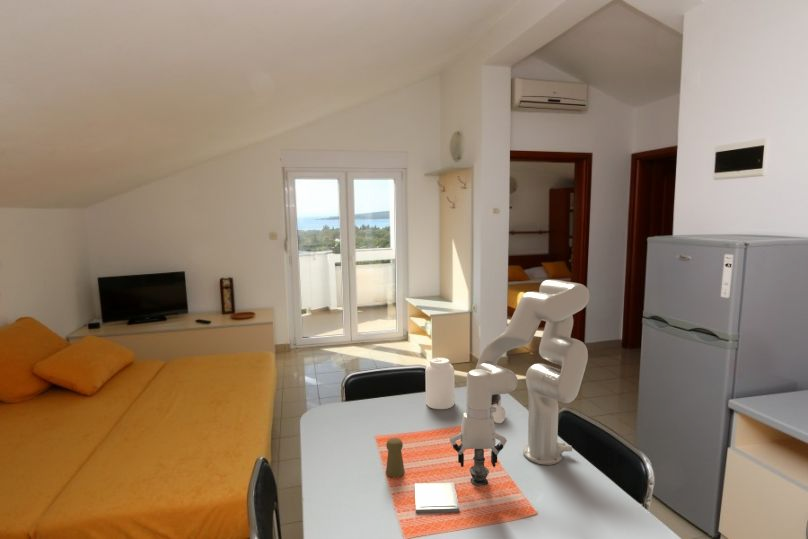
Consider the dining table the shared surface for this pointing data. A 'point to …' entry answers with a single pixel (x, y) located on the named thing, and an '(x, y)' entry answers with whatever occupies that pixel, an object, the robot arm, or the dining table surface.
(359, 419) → the dining table surface
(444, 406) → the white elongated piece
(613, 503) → the dining table surface
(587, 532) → the dining table surface
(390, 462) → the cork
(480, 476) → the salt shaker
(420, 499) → the coaster
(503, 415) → the spread jar
